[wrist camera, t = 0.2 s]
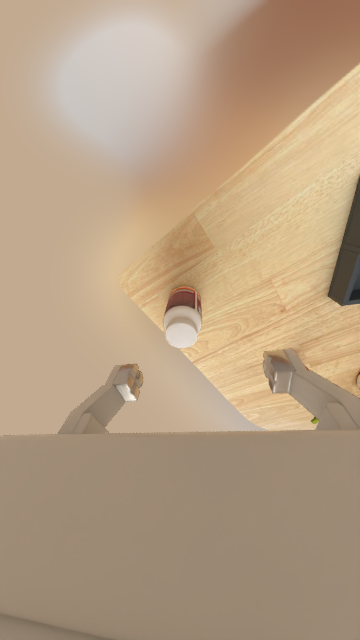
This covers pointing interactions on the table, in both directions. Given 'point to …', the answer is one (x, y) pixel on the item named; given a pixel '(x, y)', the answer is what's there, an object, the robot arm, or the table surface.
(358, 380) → the supplement tub
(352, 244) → the divided tray
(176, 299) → the pill bottle
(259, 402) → the table surface
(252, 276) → the table surface
